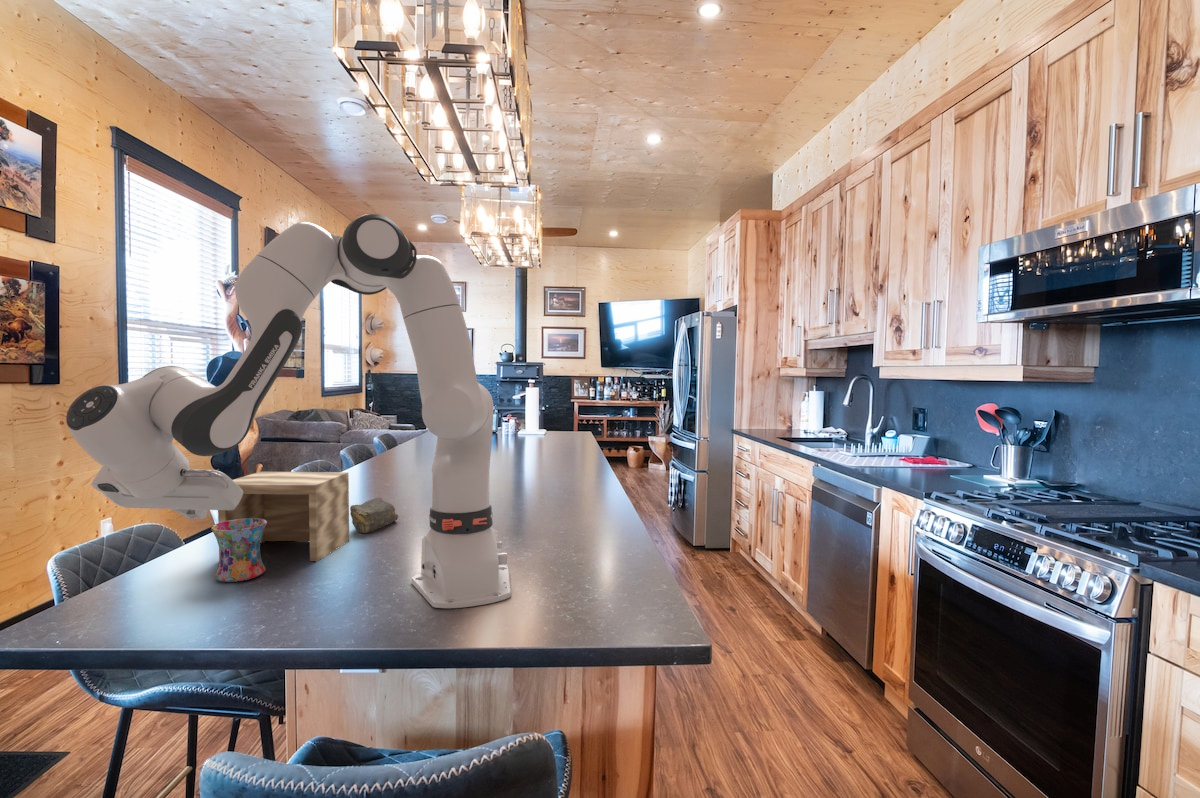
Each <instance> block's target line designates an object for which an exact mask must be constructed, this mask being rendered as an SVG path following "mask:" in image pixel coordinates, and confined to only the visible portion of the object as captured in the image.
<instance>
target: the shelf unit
mask: <svg viewBox="0 0 1200 798" xmlns="http://www.w3.org/2000/svg"><path fill="white" fill-rule="evenodd" d="M232 480H233V481H234V482H235V483H236V484H237V485H238V486H239V487H240V488H241V489H242V490H243V496H242V498H241V500H240V502H239V504H238V505H237V507H236V508H235V509H234V510H217V511H218V512H217V519H218V520H217V521H218V522H217V524H218V523H221V522H224V521H229V520H235V519H245V518H259V519H264V520H266V521H267V524H266V526H265V528H264V531H263V534H262V537H261V542H260V543H261V544H263V543H265V542H264V541H301V542H300V543H309V562H310V561H318V560H319V561H321V560H322V559H324V558H326V557H327V556H328V555H327V554H329V553H330V552H332V551H333V550H335V549H336V548H338V547H339V548H341V547H342V546H343V544H344V543H345V544H347V543H349V541H350V499H349V498H350V497H349V496H350V491H349V489H350V488H349V484H350V483H349V481H350V480H349V472H346V471H345V472H342V471H341V472H340V471H339V472H338V471H337V472H334V471H332V472H331V471H326V472H325V471H321V472H320V471H257V472H254V473H251V474H248V475H245V476H240V477H237V478H235V479H232ZM308 541H310V542H308ZM262 542H263V543H262ZM346 542H347V543H346ZM345 544H344V545H345ZM341 545H342V546H341ZM340 546H341V547H340ZM339 548H338V549H339ZM336 550H337V549H336ZM336 550H335V551H336ZM333 552H334V551H333ZM333 552H332V553H333ZM330 554H331V553H330ZM330 554H329V555H330ZM326 555H327V556H326ZM218 557H219V562H220V550H219V549H218ZM323 557H324V558H323ZM321 558H322V559H321ZM320 559H321V560H320ZM319 561H318V562H319Z"/></svg>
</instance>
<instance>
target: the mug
mask: <svg viewBox="0 0 1200 798" xmlns="http://www.w3.org/2000/svg"><path fill="white" fill-rule="evenodd" d="M266 524H267V521H266V520H264V519H259V518H245V519H235V520H229V521H224V522H221V523H218V522H217V523H216V524H213V525H212V526H211V529H210V530H211V531H212V533H213V534H214V537H215V539H216V542H217V544H218V551H219V550H220V561H219V565H218V568H217V571H216V573H215V575H214V577H215V579H216V580H217V581H219V582H225V583H236V582H237V583H238V581H239V582H243V581H244V580H245V581H248V580H251V579H254V578H256V577H259V576H261V575H262V574H264V573H265V572H266V569H267V568H266V566H265V565H264V563H263V559H262V555H261V544H260V542H261V537H262V534H263V531H264V528H265V526H266ZM245 581H244V582H245Z"/></svg>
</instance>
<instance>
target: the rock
mask: <svg viewBox="0 0 1200 798" xmlns="http://www.w3.org/2000/svg"><path fill="white" fill-rule="evenodd" d="M349 515H350V517H351V523H352V525H353V527H354V529H355V530H356V531H357V532H358V533H359V532H360V533H359V534H362V533H363V534H367V533H372V532H375V531H376V530H378V529H380V528H379V527H382V528H384V527H386V526H385V525H387V526H388V524H389V525H390V523H391V524H393V522H395V521H397V520H398V518H399V516H400V515H399V514H397V513H396V507H395V505H393V504H391V503H389V502H387V501H385V500H383V498H382V497H380V496H378V497H374V498H373V499H370V500H367V501H365V502H363V503H361V504H352V505H350V506H349ZM383 526H384V527H383ZM374 530H375V531H374Z"/></svg>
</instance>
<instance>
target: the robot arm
mask: <svg viewBox="0 0 1200 798" xmlns="http://www.w3.org/2000/svg"><path fill="white" fill-rule="evenodd" d="M330 282H331V283H332V284H334V285H337V286H339V287H342V288H345V289H347V290H349V291H351V292H353V293H356V294H359V295H365V296H369V295H370V296H371V295H376V294H378V293H379V294H380V293H381V292H383V291H385V290H387V289H388V290H389V291H390V292H391V293H392V294H393V295H394V297H395V298H396V301H397V302H398V304H399V306H400V307H399V308H400V311H401V316H402V318H403V322H404V326H405V328H406V333H407V336H408V340H409V342H410V346H411V349H412V353H413V356H414V360H415V365H416V373H417V381H418V389H419V393H420V399H421V405H422V406H421V417H422V421H423V423H424V425H425V427H426V428H427V430H428V431H429V432H430V433H431V434H433V435H434V436H436V437H437V438H436V447H435V453H434V458H433V459H434V460H433V464H432V468H431V507H430V509H429V515H428V518H429V527H430V529H429V531H428V532H427V533H426V534H425V536H423V537H422V539H421V561H420V563H421V564H420V569H421V570H420V573H418V574H415V575H413V576H412V577H411V584H412V586H413V587H414V588H415V589H416V590H417V591H418V592H419V593H420V595H421V596H423V598H424V599H425V600H426V601H427V602H428V603H429V604H430V605H431V607H432V608H437V609H461V608H468V607H469V608H471V607H476V606H482V605H487V604H493V603H497V602H501V601H504V600H506V599H509V598H510V597H512V591H511V590H512V589H511V580H510V573H509V571H510V570H509V567H508V565H507V564H508V553H507V552H499V551H498V549H499V550H501V549H503V541H501V540H499V541H498V530H496V529H495V528H494V527H493V524H494V523H493V517H494V515H493V509H492V505H491V504H490V503H491V502H490V493H491V492H490V487H491V486H490V470H491V469H490V466H491V465H490V464H491V455H492V443H493V441H492V440H493V429H494V426H493V424H494V406H495V405H494V400H493V397H492V395H491V393H490V391H489V390H488V389H487V388H486V386H484V384H483V385H482V384H481V383H480V382H479V381H478V378H477V371H476V365H475V361H474V354H473V345H472V341H471V337H470V334H469V331H468V328H467V324H466V320H465V317H464V313H463V310H462V307H461V303H460V301H459V297H458V295H457V291H456V289H455V286H454V284H453V281H452V280H451V277H450V276H449V272H448V271H447V269H446V267H445V266H444V263H443V262H442V261H440V260H439V259H438V258H436V257H434V256H431V255H425V254H424V255H423V254H422V255H420V254H419V255H418V251H417V248H416V246H415V245H414V244H413V243H412V242H411V241H410V240H409V238H407V236H406V234H405V233H404V232H403V230H402V229H401V228H400V227H399V225H397V223H396V222H395V221H393V220H392V219H390V218H389V217H386V216H385V215H382V214H377V213H367V214H364V215H361V216H359V217H358V216H357V218H355V219H353V220H352V221H351V222H350V223H349V224H348V225H347V226H346V227H345V229H344V231H343V234H342V235H335V234H332V233H330V232H328V230H326V229H325V228H323V227H322V226H319V225H317V224H315V223H312V222H309V221H301V222H300V221H299V222H296V223H294V224H292V225H290V226H289V227H288V228H286V229H285V230H283V231H282V232H280V234H278V235H277V236H275V237H274V238H273V239H272V240H270V241H269V243H267V244H266V245H265V246H264V247H263V248H262V249H261V250H260V251H259V252H258V254H256V255H255V256H254V257H253V259H252V260H251V261H250V262H249V263H247V265H245V267H244V268H243V270H242V271H241V273H240V274H239V276H238V278H237V280H236V282H235V285H234V293H235V299H236V302H237V304H238V306H239V308H240V310H241V312H242V313H243V315H244V317H245V318H246V320H247V321H248V323H249V326H250V328H251V329H250V330H251V336H250V340H249V343H248V345H247V346H246V349H245V350H244V351H243V353H242V354H241V356H240V357H239V359H238V360H237V362H236V363H235V365H234V366H233V368H232V370H230V373H229V374H228V375H227V377H226V378H225V380H224V381H223V383H221V384H220V385H218V386H216V385H214V384H212V383H210V382H208V381H207V380H206V379H205V378H203V377H201V376H199V375H197V374H195V373H194V372H192V371H189V370H188V369H186V368H184V367H181V366H175V365H167V366H161V367H158V368H155V369H153V370H151V371H148V373H146V374H145V375H144V376H142V377H140V378H137V379H135V380H132V381H129V382H125V383H120V384H102V385H97V386H95V387H92V388H90V389H88V390H86V391H84V392H83V393H81V394H80V395H79V396H77V397H76V398H75V399H74V401H73V402H72V403H71V404H70V405H69V407H68V408H67V412H66V417H65V423H66V425H67V429H68V430H69V433H70V434H71V436H72V438H73V439H74V440H75V442H76V443H77V444H78V445H79V446H80V447H81V448H82V450H84V451H85V452H86V453H87V455H88V456H90V457H91V459H93V460H94V461H95V462H97V463H98V464H99V465H101V466H102V467H101V468H100V469H99V470H98V472H97V473H96V475H95V477H94V479H93V480H92V482H91V484H90V485H91V486H92V487H93V488H94V489H95V490H96V491H99V492H101V494H103V495H104V497H106V498H107V499H108V500H110V501H111V502H113V504H115V505H117V506H119V507H123V508H125V509H161V510H162V509H165V510H171V511H173V512H175V513H178V514H180V515H183V516H184V517H185V518H186V519H187V520H189V519H194V520H195V519H197V520H204V519H206V517H207V516H208V513H209V511H218V510H234V509H235V508H236V507H237V505H238V504H239V502H240V500H241V498H242V496H243V490H242V489H241V488H240V487H239V486H238V485H237V484H236V483H235V482H234V481H233V480H234V479H232V478H231V477H230V476H228V475H227V474H226V473H224V472H222V471H220V470H217V469H203V468H202V469H199V468H198V469H197V468H196V469H195V468H194V469H193V468H191V469H190V461H189V459H188V458H187V457H186V456H185V454H184V453H183V452H182V451H181V450H180V449H179V448H178V447H177V446H176V444H175V443H174V442H173V440H175V441H176V442H177V443H178V444H180V445H181V446H182V447H183V448H185V449H186V450H187V451H188V452H189V453H191V454H193V455H195V456H200V457H213V456H217V455H221V454H223V453H226V452H229V451H230V450H233V449H234V448H235V447H237V446H238V445H239V444H241V442H243V440H245V438H246V437H247V435H248V433H249V432H250V429H251V427H252V424H253V422H254V419H255V417H256V414H257V412H258V409H259V407H260V406H261V404H262V402H263V401H264V399H265V398H266V396H267V394H268V393H269V391H270V389H271V388H272V386H273V385H274V384H275V381H276V379H277V378H278V377H279V375H280V373H281V372H282V370H283V368H284V367H285V365H286V364H287V362H288V361H289V358H291V355H293V353H294V350H295V348H296V347H297V345H298V342H299V341H300V339H301V336H302V332H303V324H302V320H303V318H304V316H305V313H306V311H307V310H308V308H309V306H310V305H311V304H312V303H313V301H314V300H315V299H316V297H317V296H319V294H320V293H321V292H322V291H323V289H324V288H325V287H326V286H327V285H328V284H329V283H330Z"/></svg>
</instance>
